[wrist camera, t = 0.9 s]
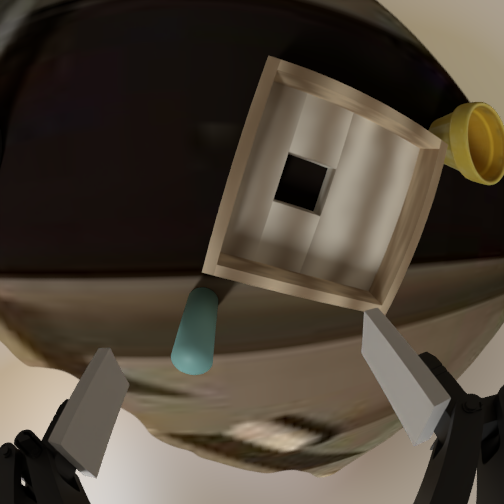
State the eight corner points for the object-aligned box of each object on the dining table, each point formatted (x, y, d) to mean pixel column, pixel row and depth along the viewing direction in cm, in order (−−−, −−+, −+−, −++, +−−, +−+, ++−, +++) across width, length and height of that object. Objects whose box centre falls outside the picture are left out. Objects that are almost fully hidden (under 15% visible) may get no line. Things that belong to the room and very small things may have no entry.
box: (208, 250, 34) (201, 272, 27) (261, 76, 27) (268, 55, 21) (363, 291, 37) (384, 315, 30) (415, 144, 31) (448, 144, 24)
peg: (185, 309, 36) (168, 368, 25) (191, 283, 35) (174, 339, 24) (214, 317, 37) (207, 378, 25) (221, 291, 36) (216, 349, 24)
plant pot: (471, 159, 31) (515, 165, 22) (434, 188, 33) (481, 200, 23) (448, 98, 28) (492, 92, 19) (406, 121, 30) (453, 116, 20)
